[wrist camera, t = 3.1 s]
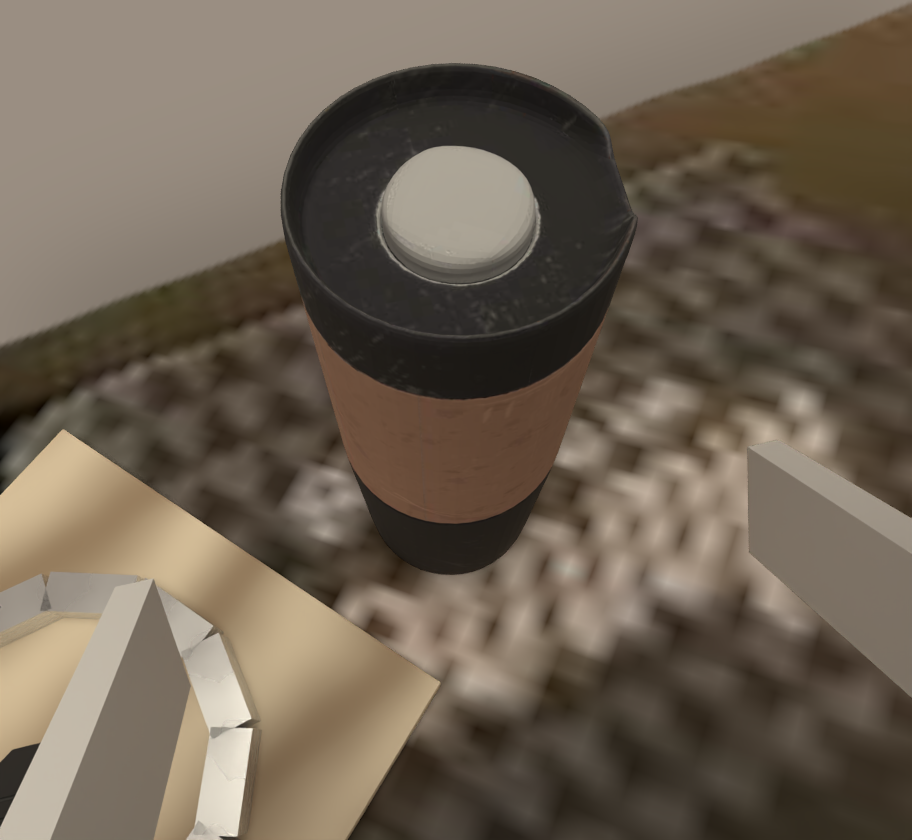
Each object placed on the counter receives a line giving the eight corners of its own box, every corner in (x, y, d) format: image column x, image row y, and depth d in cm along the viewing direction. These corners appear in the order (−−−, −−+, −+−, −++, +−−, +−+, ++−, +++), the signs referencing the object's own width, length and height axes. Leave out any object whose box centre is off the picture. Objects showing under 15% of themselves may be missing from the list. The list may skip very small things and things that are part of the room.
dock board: (440, 686, 30) (440, 682, 29) (90, 1265, 23) (67, 1297, 21) (77, 442, 34) (62, 429, 33) (-315, 866, 27) (-356, 872, 26)
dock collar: (332, 708, 28) (326, 705, 27) (67, 1112, 23) (43, 1135, 22) (63, 518, 31) (46, 507, 30) (-225, 840, 26) (-261, 845, 25)
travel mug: (330, 516, 33) (192, 217, 15) (431, 392, 36) (420, 11, 17) (470, 618, 31) (509, 421, 13) (565, 480, 34) (708, 157, 16)
